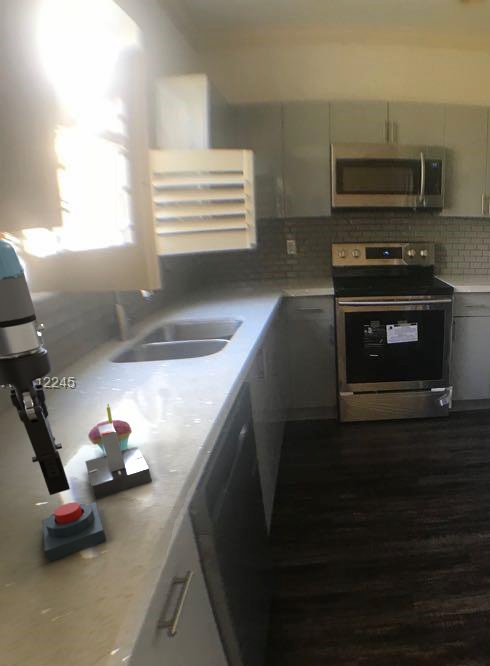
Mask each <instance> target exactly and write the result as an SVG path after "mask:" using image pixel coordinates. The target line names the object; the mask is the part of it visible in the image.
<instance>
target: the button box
mask: <svg viewBox="0 0 490 666" xmlns="http://www.w3.org/2000/svg"><path fill="white" fill-rule="evenodd" d="M79 504H80V507H81V510H82V516H81V517H79V518H78V519H76V520H75V521H72V522H69V523H66V524H59V523H57V520H56V518H55V515H54V513H52V514H51V515H50V516H49V517H47V518H44V519H42V531H43V544H44V554H45V556H46V558H47V561H48V563H52V562H53V561H56V560H59V559H62V558H64V557H67V556H70V555H73V554H74V553H78V552H80V551H83V550H85V549H88V548H91V547H93V546H96V545H99V544H101V543H104V542H106V541H107V537H106V534H105V528H104V525H103V522H102V518H101V515H100V511H99V507H98V504H97V502H96V501H95V502H91V503H89V504H86V503H79Z"/></svg>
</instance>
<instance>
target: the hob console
mask: <svg viewBox="0 0 490 666" xmlns="http://www.w3.org/2000/svg"><path fill="white" fill-rule="evenodd" d="M121 452H122V456H123V460H124V463H125V468H122V469H119V470H116V471H113V472H111V470H110V467H109V464H108V462H107V458H106V455H102V456H99V457H95V458H92V459H88V460H86V461H85V467H86V470H87V473H88V477H89V482H90V485H91V488H92V489H91V490H92V492H93V496H94V498H95V500H98V499H101V498H105V497H107V496H111V495H113V494H117V493H119V492H123V491H126V490H129V489H131V488H134V487H138V486H141V485H144V484H148V483H149V482H150V483H151V482H152V481H153V479H152V475H151V471H150V468H149V466H148V464H147V462H146V460H145V458H144V455H143V454H142V451H140V448H139V446H134V447H131V448H127V449H126V450H123V451H121Z"/></svg>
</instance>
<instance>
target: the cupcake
mask: <svg viewBox="0 0 490 666" xmlns="http://www.w3.org/2000/svg"><path fill="white" fill-rule="evenodd" d="M106 412H107V419H108V420H106V421H105V420H104V421H101V422H99V423H97V424H96V425H95V426H93V427H92V428H91V429H90V431H89V433H88V435H87V437H88V440H89V441H90V442H91V443H92V445H97V446H98V447H99V449H100V450H101V451H102V452H103V454H104V455H105V451H104V448H103V444H102V441H101V437H100V434H99V430H98V427H99V426H103V425H107V424H110V423H112V424H113V427H114V429H115V431H116V434H117V438H118V441H119V445H120V449H121V451H123V450H127V449H128V443H129V439H130V435H131V434H132V428H131V426H130V423H128V422H127V421H124V420H121V419H120V420H119V419H115V420H113V418H112V417H113V416H112V412H111V406H110V404H109V403H107V406H106Z"/></svg>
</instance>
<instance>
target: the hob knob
mask: <svg viewBox="0 0 490 666" xmlns="http://www.w3.org/2000/svg"><path fill="white" fill-rule="evenodd" d="M98 430H99V434H100V437H101V441H102V444H103V448H104V451H105V454H104V456H106V458H107V462H108V464H109V467H110V470H111V472H113V471H116V470H119V469H122V468H125V463H124V460H123V456H122V452H121V449H120V445H119V441H118V438H117V434H116V431H115V429H114V427H113V424H112V423H110V424H107V425H103V426H99V427H98Z"/></svg>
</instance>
